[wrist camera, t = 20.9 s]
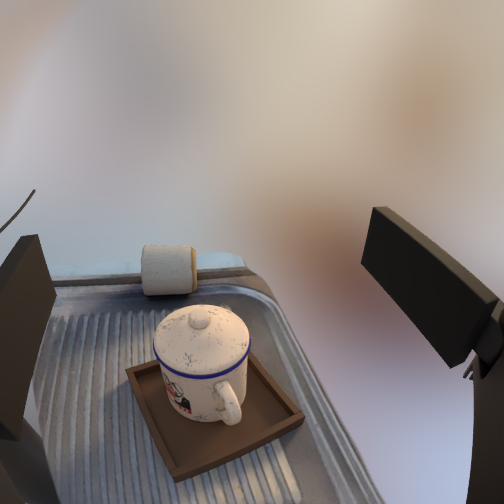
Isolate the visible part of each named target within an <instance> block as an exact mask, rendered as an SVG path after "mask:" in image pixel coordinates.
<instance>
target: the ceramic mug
mask: <svg viewBox="0 0 504 504" xmlns="http://www.w3.org/2000/svg"><path fill="white" fill-rule="evenodd" d="M141 276H142V285H143V291H144V294H145V295H147V296H150V295H169V294H187V293H191V292H194V291H195V290H196V289H197V273H196V250H195V249H194V248H192V247H188V246H166V245H145V246H144V247H143V251H142V258H141Z"/></svg>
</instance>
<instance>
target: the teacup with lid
mask: <svg viewBox="0 0 504 504" xmlns="http://www.w3.org/2000/svg"><path fill="white" fill-rule="evenodd" d="M250 345H251V338H250V334H249V331H248V329H247V327H246V325H245V324H244V322H243V321H242V320H241V319H240V318H239V317H238V316H237V315H235V314H234V313H232V312H231V311H229V310H226V309H224V308H221V307H217V306H212V305H193V306H188V307H184V308H181V309H179V310H176V311H174V312H173V313H171V314H169V315H168V316H167V317H166V318H164V319H163V320H162V322H161V323H160V324H159V326H158V327H157V329H156V331H155V334H154V339H153V349H154V353H155V355H156V358H157V359H158V361H159V363H160V367H161V371H162V375H163V378H164V382H165V386H166V390H167V393H168V397H169V400H170V402H171V404H172V405H173V407H174V408H175V409H176V410H177V411H178V412H179V413H180V414H182V415H183V416H185V417H187V418H189V419H191V420H195V421H199V422H214V421H219V420H223V421H224V422H225V423H226V424H227V425H234V424H237V423H239V422H240V420H241V408H240V406H241V405H242V403H243V401H244V399H245V395H246V379H247V356H248V353H249V350H250Z"/></svg>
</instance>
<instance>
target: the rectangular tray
mask: <svg viewBox="0 0 504 504" xmlns="http://www.w3.org/2000/svg"><path fill="white" fill-rule="evenodd" d="M125 371H126V373H127V376H128V379H129V381H130V384H131V387H132V389H133V392H134V394H135V397H136V399H137V402H138V404H139V407H140V409H141V412H142V414H143V416H144V419H145V421H146V423H147V426H148V428H149V430H150V432H151V435H152V437H153V439H154V441H155V443H156V445H157V447H158V450H159V452H160V454H161V456H162V458H163V460H164V462H165V464H166V466H167V468H168V470H169V472H170V474H171V476H172V478H173V479H174V481H175V483H177V482H180V481H183V480H185V479H188V478H191V477H193V476H196V475H198V474H201V473H203V472H206V471H208V470H211V469H213V468H215V467H218V466H220V465H222V464H225V463H227V462H229V461H231V460H233V459H236V458H238V457H240V456H242V455H244V454H246V453H248V452H251V451H253V450H255V449H257V448H259V447H261V446H263V445H265V444H267V443H269V442H271V441H272V440H274V439H276V438H278V437H280V436H282V435H284V434H286V433H287V432H289V431H291V430H293V429H295V428H297V427H298V426H300V425H302V424H303V421H304V419H305V415H304V414H303V413H302V411H301V410H300V409H299V408H298V407H297V406H296V404H295V403H294V402H293V401H292V400H291V399H290V397H289V396H288V395H287V394H286V393H285V392H284V390H283V389H282V388H281V387H280V386H279V385H278V383H277V382H276V381H275V380H274V379H273V377H272V376H271V375H270V374H269V373H268V371H267V370H266V369H265V368H264V367H263V365H262V364H261V363H260V362H259V360H258V359H257V358H256V357H255V356H254V354H253V353H252V352H251V351H250V350H249V353H248V356H247V379H246V395H245V399H244V401H243V403H242V405H241V406H240V408H241V420H240V422H239V423H237V424H234V425H227V424H226V423H225V422H224V421H223V420H219V421H214V422H199V421H195V420H191V419H189V418H187V417H185V416H183V415H182V414H180V413H179V412H178V411H177V410H176V409H175V408H174V407H173V405H172V404H171V402H170V400H169V397H168V393H167V390H166V386H165V382H164V378H163V375H162V371H161V367H160V363H159V361H158V359H156V360H153V361H150V362H147V363H144V364H141V365H138V366H134V367H131V368H128V369H125Z"/></svg>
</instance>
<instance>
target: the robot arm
mask: <svg viewBox="0 0 504 504" xmlns="http://www.w3.org/2000/svg"><path fill="white" fill-rule="evenodd" d="M34 193H35V190H33V191H32V193H31V194H30V195H29V197H28V198H27V200H26V201H25V202H24V204H23V205H22V206H21V207H20V209H19V210H18V211H17V212H16V213H15V214H14V215H13V216H12V217H11V219H10V220H9V221H8V222H7V223H6V224H5V225H4V226H2V228H0V233H1V232H2V231H3V230H4V229H5V228H6V227H7V226H8V225H9V224H10V223H11V221H13V220H14V219H15V217H16V216H17V215H18V214H19V213H20V212H21V210H22V209H23V208H24V207H25V205H26V204H27V203H28V201H29V200H30V198H31V197H32V196H33V194H34ZM361 264H362V265H363V266H364V267H365V268H366V270H367V271H368V272H369V273H370V274H371V275H372V276H373V277H374V278H375V280H376V281H377V282H378V283H379V284H380V285H381V286H382V287H383V289H384V290H385V291H386V292H387V293H388V294H389V295H390V296H391V298H392V299H393V300H394V301H395V302H396V303H397V305H398V306H399V307H400V308H401V309H402V310H403V311H404V313H405V314H406V315H407V316H408V317H409V318H410V320H411V321H412V322H413V323H414V324H415V325H416V327H417V328H418V329H419V330H420V332H421V333H422V334H423V335H424V336H425V338H426V339H427V340H428V341H429V342H430V344H431V345H432V346H433V347H434V348H435V350H436V351H437V352H438V354H439V355H440V356H441V357H442V359H443V360H444V361H445V362H446V364H447V365H448V366H449V367H450V369H451V368H453V367H455V366H457V365H459V364H461V363H463V362H465V360H466V358H467V357H468V355H469V354H470V352H471V350H472V349H473V350H474V351H475V352H476V356H475V358H474V359H473V360H472V362H471V364H470V365H469V367H468V368H467V370H466V371H465V373H464V375H463V378H466V377H467V376H468V374H469V373H470V371H473V373H472V375H471V377H470V378H469V379H470V380H473V384H474V426H473V446H472V461H471V470H470V479H469V487H468V494H467V500H466V504H504V303H503V302H502V301H501V300H500V299H499V298H498V297H497V296H496V295H495V294H494V293H493V292H492V291H491V290H489V289H488V288H487V287H486V286H485V285H484V284H483V283H482V282H481V281H480V280H478V279H477V278H476V277H475V276H474V275H473V274H472V273H470V272H469V271H468V270H467V269H466V268H465V267H463V266H462V265H461V264H460V263H459V262H458V261H456V260H455V259H454V258H453V257H451V256H450V255H449V254H448V253H447V252H446V251H444V250H443V249H442V248H441V247H439V246H438V245H437V244H436V243H434V242H433V241H432V240H431V239H429V238H428V237H427V236H426V235H424V234H423V233H422V232H420V231H419V230H418V229H416V228H415V227H414V226H413V225H411V224H410V223H409V222H407V221H406V220H405V219H403V218H402V217H401V216H399V215H398V214H396V213H395V212H394V211H392V210H391V209H390V208H388V207H373V210H372V215H371V219H370V225H369V229H368V234H367V239H366V243H365V247H364V252H363V256H362V260H361ZM56 296H57V295H56V292H55V289H54V286H53V283H52V280H51V277H50V274H49V271H48V268H47V264H46V261H45V258H44V254H43V251H42V248H41V244H40V240H39V237H38V234H35V235H27V236H21V237H20V239H19V240H18V242H17V243H16V244H15V246H14V247H13V249H12V250H11V252H10V253H9V254H8V256H7V257H6V259H5V261H4V262H3V264H2V265H1V267H0V439H3V440H10V441H17V442H19V438H20V432H21V426H22V420H23V415H24V409H25V405H26V400H27V395H28V391H29V386H30V382H31V378H32V374H33V370H34V366H35V363H36V359H37V355H38V352H39V348H40V345H41V341H42V338H43V335H44V331H45V328H46V325H47V322H48V319H49V316H50V313H51V310H52V307H53V304H54V301H55V299H56ZM0 504H26V503H25V502H24V500H23V499H22V497H21V496H20V494H19V493H18V491H17V489H16V488H15V486H14V484H13V483H12V481H11V479H10V478H9V476H8V474H7V472H6V471H5V469H4V467H3V465H2V463H1V461H0Z"/></svg>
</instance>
